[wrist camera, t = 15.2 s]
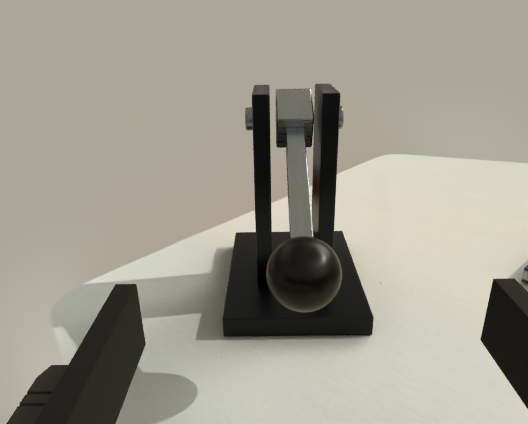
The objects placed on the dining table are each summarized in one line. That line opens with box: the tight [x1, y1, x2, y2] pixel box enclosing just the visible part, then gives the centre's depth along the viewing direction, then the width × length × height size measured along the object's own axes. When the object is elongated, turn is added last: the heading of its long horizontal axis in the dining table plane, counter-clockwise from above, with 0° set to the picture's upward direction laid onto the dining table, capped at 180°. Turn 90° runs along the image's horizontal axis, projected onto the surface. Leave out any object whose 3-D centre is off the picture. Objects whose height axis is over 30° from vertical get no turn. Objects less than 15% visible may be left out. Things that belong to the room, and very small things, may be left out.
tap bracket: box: [223, 84, 373, 336], centre depth 30 cm, size 12×9×14 cm
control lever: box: [266, 89, 342, 312], centre depth 24 cm, size 14×4×4 cm
